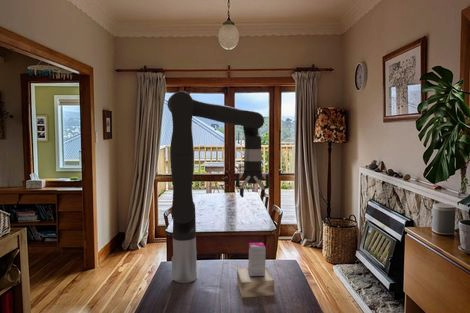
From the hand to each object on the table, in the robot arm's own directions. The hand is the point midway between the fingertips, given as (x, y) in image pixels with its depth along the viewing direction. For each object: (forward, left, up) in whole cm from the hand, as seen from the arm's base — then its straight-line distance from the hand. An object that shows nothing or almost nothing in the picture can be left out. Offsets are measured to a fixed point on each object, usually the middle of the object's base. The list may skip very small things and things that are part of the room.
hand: (252, 197), depth 147 cm
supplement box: (+4, -19, -26) cm, 32 cm away
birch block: (+3, -19, -32) cm, 37 cm away
